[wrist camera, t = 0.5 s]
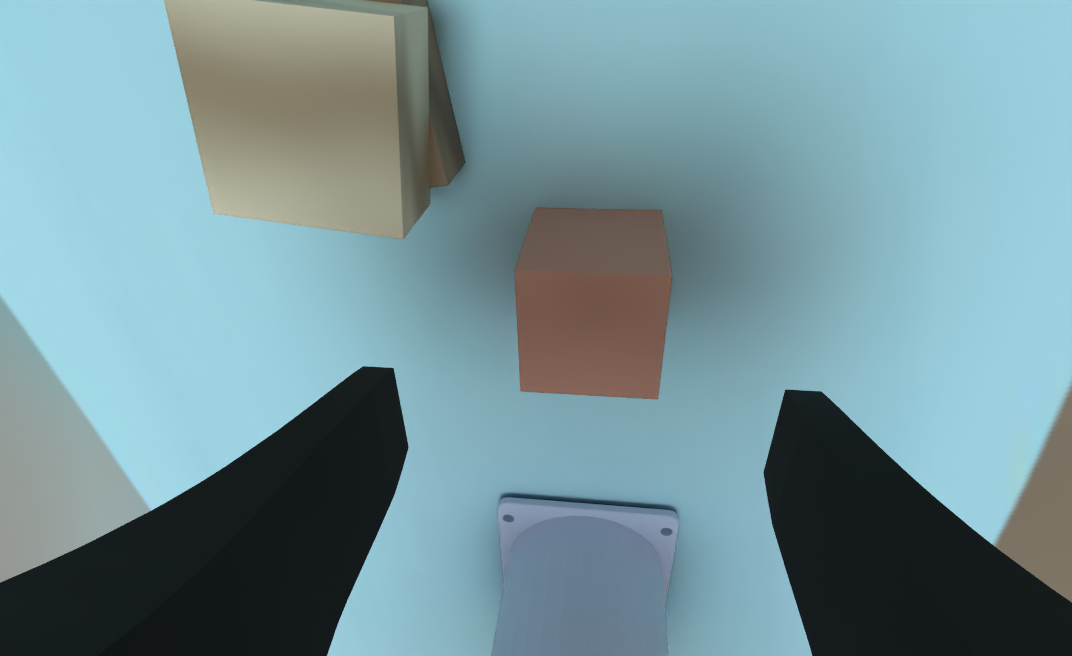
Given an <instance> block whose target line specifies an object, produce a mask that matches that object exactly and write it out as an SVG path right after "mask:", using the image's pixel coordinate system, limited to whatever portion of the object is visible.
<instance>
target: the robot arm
mask: <svg viewBox="0 0 1072 656" xmlns="http://www.w3.org/2000/svg"><path fill="white" fill-rule="evenodd" d="M407 451H408V442H407V437H406V431H405V426H404V421H403V416H402V410H401V405H400V400H399V395H398V389H397V384H396V379H395V373H394V368H383V367H365V366H363V367H362V368H360V369H359V370H357V371H356V372H354V373H353V374H352V375H350V376H349V377H348V378H346V379H345V380H344V381H342V382H341V383H340V384H338V385H337V386H336V387H334V388H333V389H332V390H331V391H329V392H328V393H327V394H325V395H324V396H323V397H321V398H320V399H319V400H318V401H316V402H315V403H314V404H312V405H311V406H310V407H308V408H307V409H306V410H304V411H303V412H302V413H300V414H299V415H298V416H296V417H295V418H294V419H292V420H291V421H290V422H288V423H287V424H286V425H284V426H283V427H282V428H280V429H279V430H278V431H276V432H275V433H274V434H272V435H271V436H269V437H268V438H266V439H265V440H263V441H262V442H260V443H259V444H258V445H256V446H255V447H253V448H252V449H250V450H249V451H247V452H246V453H245V454H243V455H242V456H240V457H239V458H237V459H236V460H234V461H233V462H232V463H230V464H229V465H227V466H226V467H224V468H223V469H221V470H219V471H218V472H216V473H215V474H213V475H212V476H210V477H208V478H207V479H205V480H204V481H202V482H200V483H199V484H197V485H195V486H194V487H192V488H190V489H188V490H187V491H185V492H183V493H182V494H180V495H178V496H177V497H175V498H173V499H171V500H170V501H168V502H166V503H164V504H163V505H161V506H159V507H157V508H155V509H154V510H152V511H150V512H148V513H146V514H144V515H142V516H140V517H138V518H136V519H134V520H132V521H131V522H129V523H127V524H125V525H123V526H121V527H119V528H117V529H115V530H113V531H111V532H109V533H107V534H105V535H103V536H101V537H99V538H97V539H96V540H94V541H92V542H90V543H88V544H86V545H83V546H81V547H79V548H77V549H75V550H73V551H71V552H69V553H66V554H64V555H62V556H60V557H58V558H56V559H53V560H51V561H49V562H47V563H45V564H42V565H40V566H38V567H36V568H33V569H31V570H29V571H26V572H24V573H22V574H19V575H17V576H15V577H12V578H10V579H8V580H6V581H3V582H1V583H0V656H327V654H328V651H329V648H330V645H331V642H332V639H333V636H334V633H335V630H336V627H337V624H338V622H339V619H340V617H341V615H342V612H343V610H344V607H345V605H346V602H347V600H348V598H349V595H350V593H351V591H352V589H353V586H354V584H355V582H356V580H357V578H358V575H359V573H360V571H361V569H362V566H363V564H364V562H365V560H366V558H367V555H368V553H369V551H370V549H371V547H372V544H373V542H374V540H375V538H376V535H377V533H378V531H379V529H380V526H381V524H382V522H383V520H384V517H385V515H386V513H387V511H388V508H389V506H390V504H391V501H392V499H393V497H394V494H395V491H396V488H397V485H398V482H399V479H400V475H401V472H402V469H403V465H404V461H405V458H406V454H407ZM764 478H765V484H766V491H767V497H768V503H769V508H770V514H771V519H772V525H773V528H774V532H775V535H776V538H777V542H778V545H779V548H780V552H781V555H782V558H783V561H784V565H785V568H786V571H787V574H788V578H789V581H790V584H791V587H792V590H793V594H794V597H795V600H796V603H797V607H798V610H799V613H800V616H801V619H802V623H803V626H804V629H805V632H806V635H807V639H808V642H809V645H810V648H811V652H812V656H1072V603H1071V602H1070V601H1069V600H1067V599H1066V598H1064V597H1063V596H1061V595H1060V594H1058V593H1057V592H1056V591H1054V590H1053V589H1051V588H1050V587H1048V586H1047V585H1046V584H1044V583H1043V582H1042V581H1040V580H1039V579H1038V578H1036V577H1035V576H1034V575H1032V574H1031V573H1030V572H1028V571H1026V570H1025V569H1024V568H1022V567H1021V566H1020V565H1019V564H1017V563H1016V562H1014V561H1013V560H1012V559H1010V558H1009V557H1008V556H1007V555H1005V554H1004V553H1002V552H1001V551H1000V550H998V549H997V548H996V547H995V546H993V545H992V544H991V543H990V542H988V541H987V540H986V539H984V538H983V537H982V536H981V535H979V534H978V533H977V532H976V531H974V530H973V529H972V528H971V527H969V526H968V525H967V524H966V523H965V522H963V521H962V520H961V519H960V518H959V517H958V516H956V515H955V514H954V513H953V512H952V511H950V510H949V509H948V508H947V507H946V506H944V505H943V504H942V503H941V502H940V501H938V500H937V499H936V498H935V497H934V496H933V495H931V494H930V493H929V492H928V491H927V490H926V489H925V488H923V487H922V486H921V485H920V484H919V483H918V482H917V481H916V480H914V479H913V478H912V477H911V476H910V475H909V474H908V473H907V472H906V471H905V470H903V469H902V468H901V467H900V466H899V465H898V464H897V463H896V462H895V461H894V460H893V459H892V458H891V457H889V456H888V455H887V454H886V453H885V452H884V451H883V450H882V449H881V448H880V447H879V446H878V445H877V444H876V443H875V442H874V441H873V440H872V439H871V438H869V437H868V436H867V435H866V434H865V433H864V432H863V431H862V430H861V429H860V428H859V427H858V426H857V425H856V424H855V423H854V422H853V421H852V420H851V419H850V418H849V417H848V416H847V415H846V414H845V413H844V412H843V411H842V410H841V409H840V408H838V407H837V406H836V405H835V404H834V403H833V402H832V401H831V400H830V399H829V398H828V397H827V396H826V395H825V394H823V393H822V392H818V391H800V390H785V393H784V396H783V400H782V404H781V408H780V412H779V416H778V419H777V423H776V427H775V431H774V435H773V439H772V442H771V446H770V450H769V454H768V458H767V462H766V465H765V469H764ZM497 514H498V525H499V536H500V547H501V559H502V570H503V581H504V588H503V593H502V599H501V604H500V610H499V615H498V621H497V626H496V632H495V637H494V642H493V648H492V653H491V656H668V643H667V629H666V614H665V607H666V601H667V595H668V589H669V583H670V577H671V571H672V565H673V559H674V552H675V546H676V540H677V534H678V528H679V518H678V515H677V514H676V513H675V512H673V511H670V510H662V509H650V508H637V507H625V506H612V505H600V504H587V503H574V502H562V501H549V500H537V499H524V498H512V497H505V498H502V499H501V500H500V501H499V503H498V508H497Z"/></svg>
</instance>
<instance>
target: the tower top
mask: <svg viewBox="0 0 1072 656" xmlns="http://www.w3.org/2000/svg"><path fill="white" fill-rule="evenodd" d="M164 3H165V7H166V11H167V15H168V20H169V24H170V28H171V33H172V37H173V41H174V46H175V50H176V54H177V59H178V63H179V67H180V72H181V76H182V80H183V84H184V89H185V93H186V97H187V102H188V106H189V110H190V115H191V119H192V123H193V128H194V132H195V136H196V141H197V145H198V149H199V154H200V158H201V162H202V166H203V171H204V175H205V179H206V184H207V188H208V192H209V197H210V201H211V205H212V210H213V214H219V215H226V216H234V217H241V218H249V219H256V220H264V221H271V222H278V223H286V224H293V225H301V226H308V227H315V228H323V229H330V230H338V231H345V232H352V233H360V234H367V235H375V236H382V237H390V238H397V239H404V238H405V236H406V235H407V234H408V232H409V231H410V230H411V228H412V227H413V226H414V224H415V223H416V222H417V221H418V219H419V218H420V217H421V215H422V214H423V213H424V211H425V210H426V209H427V207H428V206H429V205H430V147H429V70H428V7H421V6H412V5H403V4H394V3H385V2H376V1H367V0H164Z"/></svg>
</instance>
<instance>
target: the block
mask: <svg viewBox="0 0 1072 656" xmlns="http://www.w3.org/2000/svg"><path fill="white" fill-rule="evenodd" d="M671 282H672V271H671V265H670V259H669V253H668V247H667V241H666V235H665V229H664V223H663V216H662V210H623V209H577V208H535V210H534V213H533V216H532V219H531V222H530V225H529V228H528V231H527V234H526V238H525V241H524V244H523V247H522V250H521V253H520V256H519V259H518V262H517V265H516V268H515V289H516V309H517V329H518V349H519V370H520V390H521V391H523V392H540V393H557V394H575V395H592V396H609V397H626V398H644V399H658V395H659V386H660V377H661V369H662V360H663V351H664V343H665V334H666V326H667V317H668V308H669V300H670V291H671Z"/></svg>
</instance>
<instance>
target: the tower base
mask: <svg viewBox="0 0 1072 656" xmlns="http://www.w3.org/2000/svg"><path fill="white" fill-rule="evenodd" d="M367 1H376V2H385V3H394V4H403V5H412V6H421V7H428V70H429V147H430V187H437V186H445V185H448V184H449V183H450V182H451V180H452V179H453V178H454V176H455V175H456V174H457V172H458V171H459V170H460V168H461V167H462V166H463V164H464V163H465V159H464V155H463V151H462V147H461V142H460V138H459V134H458V130H457V125H456V121H455V117H454V112H453V108H452V104H451V100H450V95H449V91H448V87H447V83H446V78H445V74H444V70H443V66H442V61H441V57H440V53H439V49H438V44H437V40H436V36H435V32H434V27H433V23H432V19H431V14H430V10H429V6H428V2H427V0H367Z"/></svg>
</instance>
